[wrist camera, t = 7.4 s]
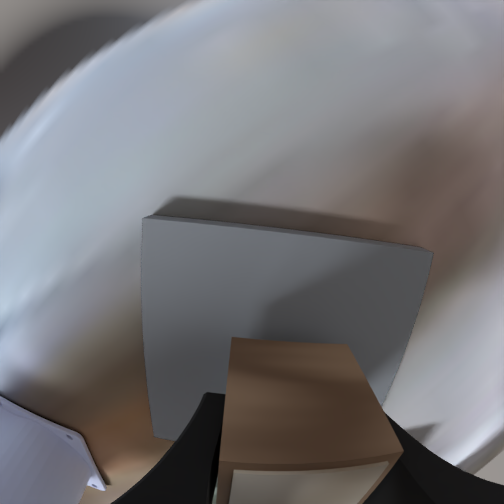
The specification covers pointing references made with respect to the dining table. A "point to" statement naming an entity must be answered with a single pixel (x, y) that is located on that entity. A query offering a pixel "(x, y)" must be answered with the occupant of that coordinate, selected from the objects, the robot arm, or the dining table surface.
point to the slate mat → (266, 303)
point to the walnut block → (301, 426)
